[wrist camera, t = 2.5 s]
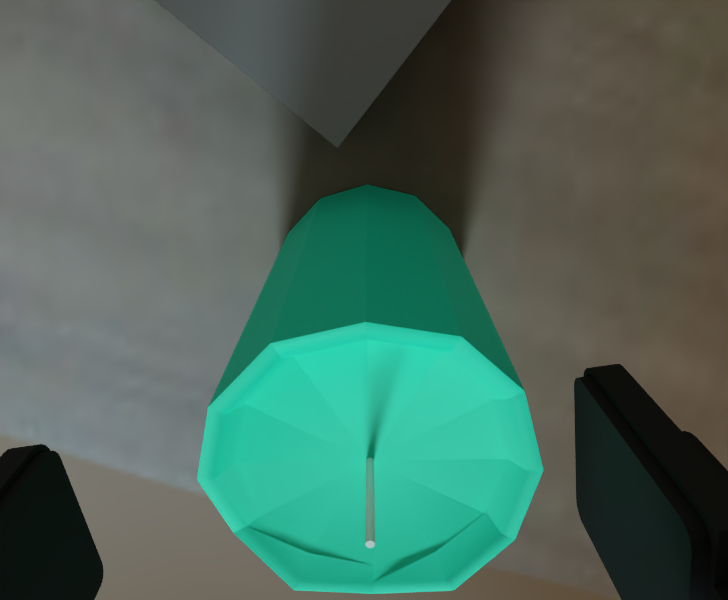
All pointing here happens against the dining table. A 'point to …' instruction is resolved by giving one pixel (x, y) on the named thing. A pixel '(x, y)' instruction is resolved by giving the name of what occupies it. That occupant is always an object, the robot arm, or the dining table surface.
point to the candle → (370, 409)
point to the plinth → (314, 49)
